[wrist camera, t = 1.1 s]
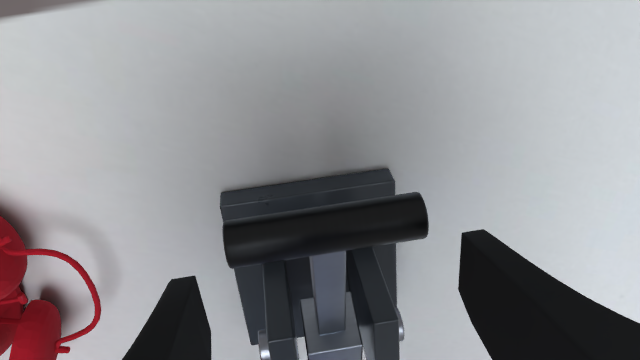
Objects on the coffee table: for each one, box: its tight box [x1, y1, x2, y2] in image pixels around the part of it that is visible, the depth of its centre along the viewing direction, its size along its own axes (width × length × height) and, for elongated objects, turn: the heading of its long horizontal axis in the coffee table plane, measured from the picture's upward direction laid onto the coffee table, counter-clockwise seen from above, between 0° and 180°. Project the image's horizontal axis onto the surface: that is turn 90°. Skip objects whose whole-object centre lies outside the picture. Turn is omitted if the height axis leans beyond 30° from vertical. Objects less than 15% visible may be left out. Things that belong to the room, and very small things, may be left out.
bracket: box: [220, 169, 404, 360], centre depth 23 cm, size 9×8×7 cm
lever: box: [223, 192, 429, 360], centre depth 19 cm, size 10×6×2 cm, turn 5°
